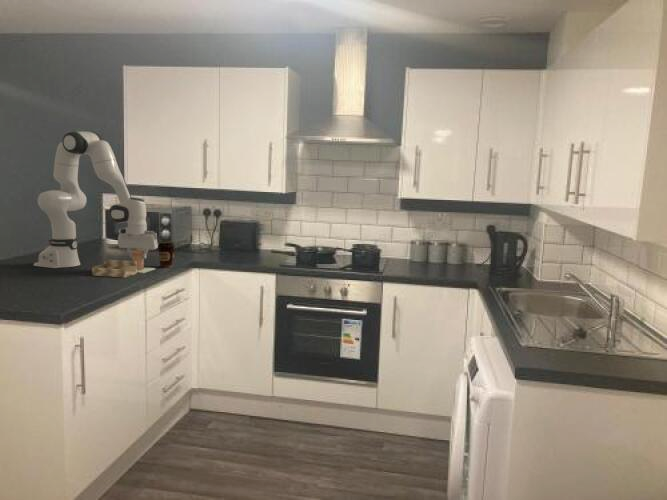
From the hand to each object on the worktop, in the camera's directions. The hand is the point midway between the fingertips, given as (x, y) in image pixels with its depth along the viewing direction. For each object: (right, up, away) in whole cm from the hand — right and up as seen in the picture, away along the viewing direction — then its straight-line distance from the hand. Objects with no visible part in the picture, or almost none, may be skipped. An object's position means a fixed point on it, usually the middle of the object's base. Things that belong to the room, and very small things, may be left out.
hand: (138, 257), depth 290 cm
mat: (0, -7, +1) cm, 7 cm away
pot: (0, -6, +1) cm, 6 cm away
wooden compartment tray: (-7, -8, -11) cm, 15 cm away
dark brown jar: (+11, -5, +13) cm, 18 cm away
